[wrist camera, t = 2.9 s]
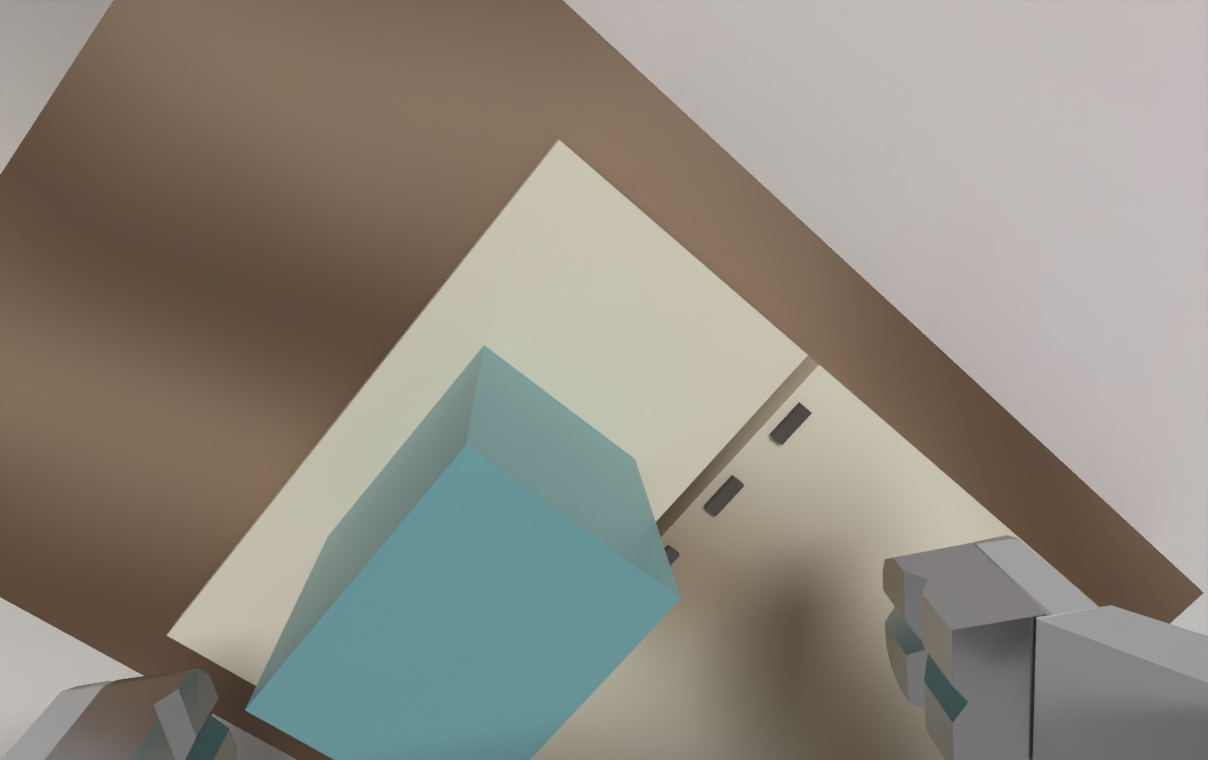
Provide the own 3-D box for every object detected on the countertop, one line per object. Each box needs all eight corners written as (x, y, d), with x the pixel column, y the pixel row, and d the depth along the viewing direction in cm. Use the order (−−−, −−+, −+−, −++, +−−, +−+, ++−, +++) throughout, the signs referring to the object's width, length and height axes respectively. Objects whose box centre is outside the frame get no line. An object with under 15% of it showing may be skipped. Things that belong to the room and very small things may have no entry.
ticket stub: (425, 754, 15) (383, 1015, 11) (181, 613, 14) (20, 845, 9) (796, 344, 13) (929, 454, 9) (557, 138, 12) (577, 147, 8)
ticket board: (732, 941, 19) (757, 1042, 17) (-128, 449, 14) (-244, 507, 12) (1146, 553, 17) (1234, 614, 15) (312, -213, 12) (264, -287, 10)
